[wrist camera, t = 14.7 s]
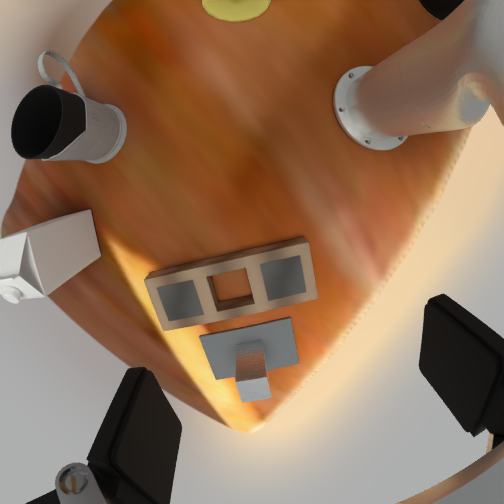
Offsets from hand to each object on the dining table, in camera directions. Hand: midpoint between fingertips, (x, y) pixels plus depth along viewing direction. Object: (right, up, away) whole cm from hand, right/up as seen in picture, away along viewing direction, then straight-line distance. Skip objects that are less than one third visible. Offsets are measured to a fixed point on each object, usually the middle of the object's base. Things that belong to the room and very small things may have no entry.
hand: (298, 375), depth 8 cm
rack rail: (-4, 0, +31) cm, 32 cm away
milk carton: (-27, +6, +29) cm, 40 cm away
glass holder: (-23, +23, +24) cm, 41 cm away
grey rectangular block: (-2, -12, +34) cm, 36 cm away
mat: (-2, -11, +35) cm, 37 cm away
